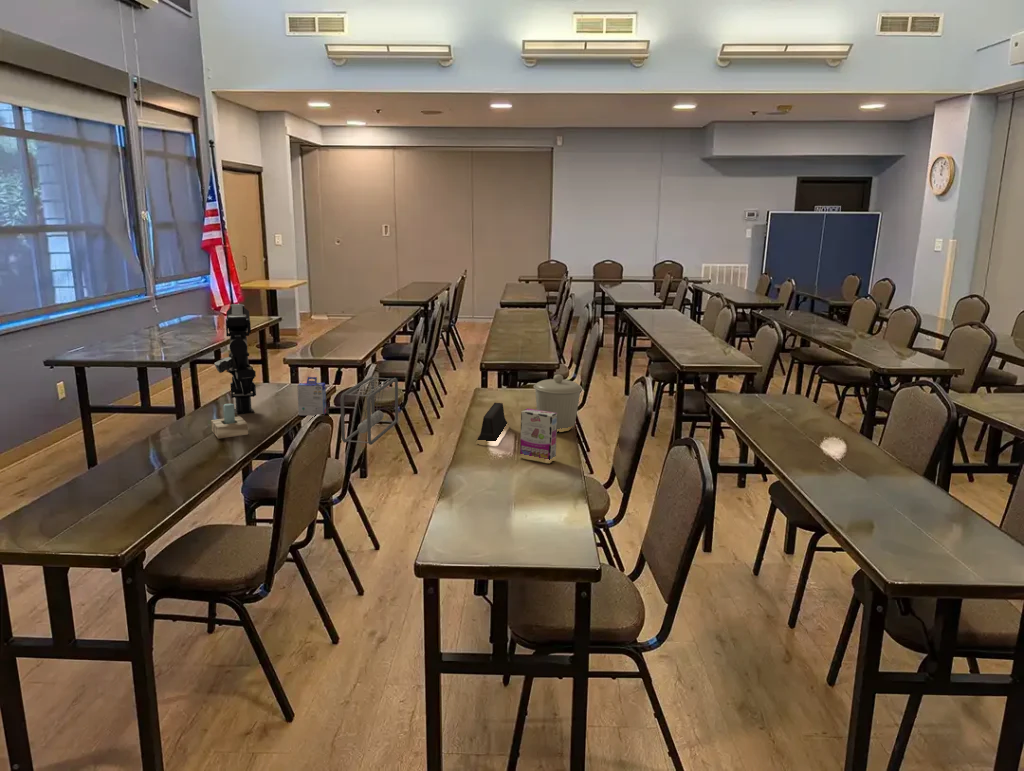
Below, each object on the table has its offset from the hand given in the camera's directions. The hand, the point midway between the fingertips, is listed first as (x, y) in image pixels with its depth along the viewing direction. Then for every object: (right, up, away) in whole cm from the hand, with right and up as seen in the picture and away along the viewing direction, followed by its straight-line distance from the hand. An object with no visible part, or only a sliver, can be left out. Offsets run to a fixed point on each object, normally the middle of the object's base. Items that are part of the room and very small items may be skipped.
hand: (241, 392), depth 261 cm
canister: (+116, -14, +7) cm, 117 cm away
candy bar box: (+107, -22, -26) cm, 113 cm away
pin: (-1, -13, -8) cm, 16 cm away
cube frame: (+48, -15, -3) cm, 50 cm away
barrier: (+92, -16, -3) cm, 93 cm away
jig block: (-1, -14, -8) cm, 17 cm away
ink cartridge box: (+21, -9, +17) cm, 29 cm away
